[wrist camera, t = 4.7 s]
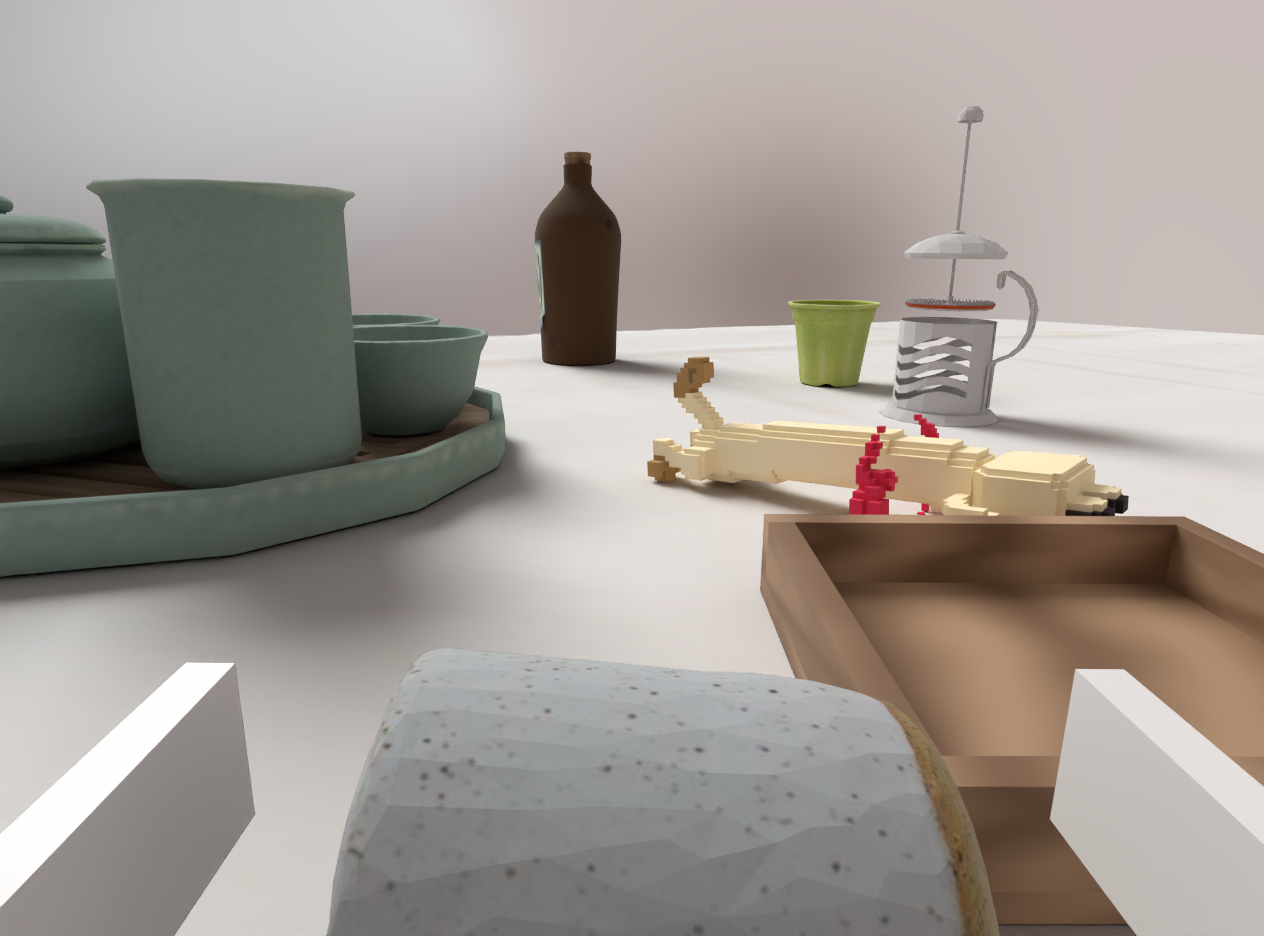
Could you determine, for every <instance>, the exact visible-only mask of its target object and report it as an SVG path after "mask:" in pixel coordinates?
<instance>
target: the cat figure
mask: <svg viewBox="0 0 1264 936" xmlns="http://www.w3.org/2000/svg"><path fill="white" fill-rule="evenodd" d="M713 377H714V366H713V362H709V357H693V358H688V363H684V368H681V372H680V373H677V382H675V383H674V397H675V398H678V403H682V408H686V413H694V418H697V419H698V424H702V429H697V430H693V431H690V442H691V447H688V448H684V450H682V445H679V444H674V439H668V438H660V439H656V440H653V452H654V460H651V461H647V465H648V476H651V477H655V480H657V481H661V482H665V483H667V482H670V481H673V480H676V478H675V473H677V472H680V471H681V473H682V475H685V479H692V480H699V481H702V480H705V479H708V480H715V481H723V482H730V483H735V482H738V481H741V480H752V481H759V482H767V483H774V484H778V483H781V482H784V481H787V480H792V481H799V482H807V483H815V484H823V485H831V486H838V487H846V488H854V489H858V490H855V491H853V498H851V499H850V502H849V515H889V499H894V500H902V501H909V502H917V503H922V508H921V510H922V511H928V510H929V506H931V510H932V511H939V512H942V514H943V515H987V516H1115V513H1120V514H1123V513H1124V512H1125V511H1126V510H1127V509H1128V497H1129V496H1124V495H1122V494H1121V488H1115V486H1106V485H1097V484H1094V480H1095V470H1094V465H1092V464H1088V463H1087V458H1086V457H1081V456H1077V455H1065V454H1053V453H1041V452H1028V451H1018V452H1013V451H1010V452H1008V453H1006V454H1004V455H1002V456H1000V457H998V458H996V459H995V455H991V453H989V448H980V447H968V446H965V445H963V440H956V439H943V438H939V433H937V428H935V424H934V423H931V422H927V418H922V414H915V415H914V421H919V425H921V435H925V437H917V436H906V435H905V434H904V430H902V429H888V428H886V426H878V427H877V428H874V427H860V426H846V425H832V424H818V423H804V422H790V421H774V422H770V423H766V424H763V425H760V424H747V423H730V424H726V425H723V418H721V417H719V412H715V407H711V402H707V397H703V395H702V392H698V388H699V387H702V384H703V383H708V382H710V378H713ZM883 498H887V499H883ZM917 514H919V515H924V514H925V512H918V513H917Z"/></svg>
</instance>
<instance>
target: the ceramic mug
mask: <svg viewBox="0 0 1264 936" xmlns="http://www.w3.org/2000/svg"><path fill="white" fill-rule="evenodd" d="M326 936H1000V933H999V927H998V922H997V918H996V913H995V908H994V904H993V899H992V895H991V890H990V886H989V881H988V876H987V872H986V868H985V864H984V861H983V858H982V854H981V851H980V848H979V844H978V841H977V838H976V834H975V831H974V828H973V825H972V822H971V819H970V817H969V814H968V812H967V810H966V807H965V805H964V802H963V800H962V798H961V795H960V793H959V790H958V788H957V786H956V784H955V782H954V780H953V778H952V776H951V774H950V772H949V770H948V768H947V766H946V764H945V761H944V760H943V759H942V758H941V756H940V755H939V754H938V752H937V751H936V750H935V749H934V747H933V746H932V745H931V743H930V742H929V741H928V740H927V738H926V737H925V736H924V735H923V733H922V732H921V731H920V729H919V728H918V727H917V726H916V724H915V723H914V722H913V721H912V720H911V719H910V718H908V717H907V716H906V715H905V714H904V713H902V712H901V711H900V710H899V709H898V708H897V707H895V706H894V705H893V704H890V703H887V702H884V701H882V700H879V699H876V698H873V697H870V696H868V695H864V694H861V693H858V692H855V691H851V690H847V689H843V688H839V687H835V686H831V685H827V684H823V683H819V682H816V681H810V680H803V679H796V678H789V677H782V676H775V675H765V674H756V673H736V672H702V671H692V670H682V669H672V668H662V667H651V666H641V665H631V664H621V663H611V662H601V661H590V660H576V659H562V658H552V657H542V656H532V655H523V654H512V653H500V652H488V651H476V650H464V649H452V648H442V649H437V650H432V651H428V652H426V653H425V654H423V655H422V656H420V657H419V658H418V659H417V660H416V661H415V662H414V663H413V664H412V665H411V667H410V668H409V670H408V671H407V673H406V675H405V676H404V677H403V678H402V680H401V682H400V684H399V685H398V687H397V689H396V690H395V692H394V694H393V696H392V698H391V700H390V703H389V705H388V708H387V710H386V713H385V716H384V718H383V721H382V723H381V726H380V728H379V731H378V733H377V736H376V738H375V741H374V743H373V745H372V748H371V750H370V752H369V755H368V757H367V759H366V762H365V765H364V768H363V771H362V774H361V777H360V781H359V784H358V787H357V790H356V793H355V796H354V799H353V802H352V805H351V808H350V811H349V814H348V817H347V821H346V826H345V830H344V834H343V839H342V843H341V847H340V851H339V856H338V861H337V866H336V871H335V875H334V880H333V890H332V900H331V910H330V921H329V926H328V930H327V934H326Z"/></svg>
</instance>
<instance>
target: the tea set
mask: <svg viewBox="0 0 1264 936" xmlns="http://www.w3.org/2000/svg"><path fill="white" fill-rule="evenodd" d="M86 188H87V189H88V190H90V191H91V192H93V193H95V194H97V195H98V196H99V197H100V199H101V200H102V202H103V204H104V207H105V213H106V220H107V226H108V232H109V239H110V246H111V252H112V259H109V258H106V257H103V256H102V255H100V254H102V252H104V251H105V250H106V248H105V246H104V245H101V244H102V243H105V242H106V239H105V237H104V236H103V235H102V234H100V233H99V232H98V231H97V230H96V229H93V228H91V227H90V226H88V225H86V224H83V223H79V222H75V221H71V220H67V219H63V218H57V217H44V216H30V215H11V214H6V212H10V211H11V210H12V209H13V203H12V202H11V201H10V200H9V199H7V198H6V197H3V196H1V195H0V577H2V576H13V575H24V574H35V573H45V572H56V571H67V570H78V569H89V568H99V567H110V566H121V565H132V564H143V563H153V562H164V561H175V560H186V559H197V558H208V557H218V556H229V555H235V554H239V553H244V552H248V551H252V550H256V549H260V548H264V547H268V546H273V545H277V544H281V543H285V542H289V541H293V540H297V539H302V538H306V537H310V536H314V535H318V534H322V533H326V532H330V531H335V530H339V529H343V528H347V527H351V526H355V525H359V524H364V523H368V522H372V521H376V520H380V519H384V518H388V517H393V516H397V515H401V514H405V513H409V512H413V511H416V510H419V509H421V508H423V507H425V506H427V505H428V504H430V503H432V502H434V501H436V500H438V499H439V498H441V497H443V496H445V495H447V494H449V493H450V492H452V491H454V490H456V489H458V488H460V487H462V486H463V485H465V484H467V483H469V482H471V481H473V480H474V479H476V478H478V477H480V476H482V475H484V474H485V473H487V472H489V471H491V470H493V469H495V468H496V467H498V466H499V464H500V461H501V459H502V456H503V454H504V451H505V449H506V443H505V420H504V415H503V409H502V403H501V397H500V394H499V393H496V392H492V391H489V390H485V389H482V388H478V387H475V386H474V385H475V380H476V375H477V369H478V364H479V359H480V354H481V351H482V349H483V347H484V345H485V343H486V341H487V338H488V335H487V332H486V331H485V330H482V329H476V328H469V327H460V326H441V325H438V324H439V322H440V319H439V318H437V317H432V316H425V315H410V314H409V315H408V314H352V311H351V299H350V286H349V273H348V261H347V249H346V236H345V224H344V211H343V210H344V207H345V204H346V202H347V201H349V200H350V199H351V198H353V197H354V196H355V194H354V192H350V191H345V190H340V189H334V188H328V187H317V186H306V185H294V184H283V183H266V182H246V181H226V180H204V179H113V180H93V181H92V182H90V183H88V184H87V185H86Z"/></svg>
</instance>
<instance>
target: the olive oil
mask: <svg viewBox="0 0 1264 936" xmlns="http://www.w3.org/2000/svg"><path fill="white" fill-rule="evenodd" d="M564 155H565V156H564V159H565V165H564V186H563V188H562V189H561V191H560V192H559V193H558V194H557V195H556V197H555V198H554V199H553V200H552V201H551V202H550V204H549V205H548V206H547V207H546V208H545V210H544V211H543V212H542V214H541V215H540V217H539V220H538V223H537V227H536V231H535V250H536V263H537V277H538V291H539V306H540V322H541V341H542V359H543V361H544V362H547V363H552V364H560V365H598V364H606V363H611V362H614V361H615V358H616V329H617V328H616V327H617V305H618V284H619V267H620V250H621V233H620V228H619V225H618V221H617V219H616V217H615V215H614V213H613V212H612V211H611V209H610V208H609V207H608V206H607V205H606V204H605V203H604V201H603V200H602V199H601V198H600V197H599V195H598V194H597V193H596V192H595V190H594V189H593V187H592V185H591V176H592V166H591V165H590V159H591V154H590V153H587V152H567V153H565V154H564Z"/></svg>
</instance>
